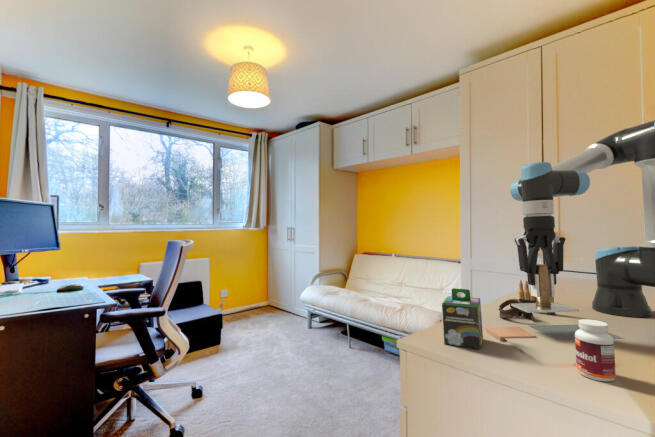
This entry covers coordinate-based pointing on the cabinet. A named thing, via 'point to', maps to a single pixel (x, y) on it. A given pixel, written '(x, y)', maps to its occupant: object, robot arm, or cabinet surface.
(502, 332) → the tile
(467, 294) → the chalk box
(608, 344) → the pill bottle
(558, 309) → the turner
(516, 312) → the brown sandal
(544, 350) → the cabinet surface
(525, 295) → the ammunition clip
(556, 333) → the mat
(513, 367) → the cabinet surface
